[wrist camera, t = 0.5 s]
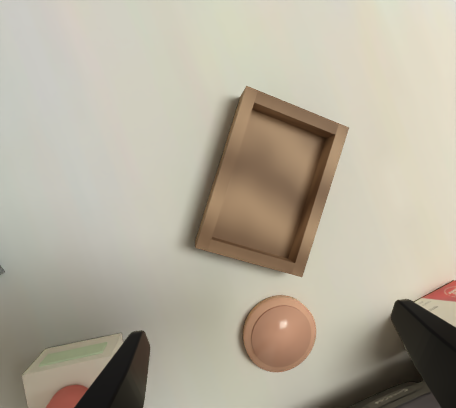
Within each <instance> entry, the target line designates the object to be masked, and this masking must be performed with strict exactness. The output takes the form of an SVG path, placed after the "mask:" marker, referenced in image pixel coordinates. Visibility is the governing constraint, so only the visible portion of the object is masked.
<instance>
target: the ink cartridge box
mask: <svg viewBox="0 0 456 408" xmlns="http://www.w3.org/2000/svg"><path fill="white" fill-rule="evenodd" d="M415 303H416V304H418V305H420V306H421V307H423V308H425V309H426V310H428V311H430V312H431V313H433V314H435V315H436V316H438V317H440V318H441V319H443V320H445V321H446V322H448V323H450V324H451V325H453V326H455V327H456V281H452V282H451V283H449V284H447V285H445V286H443V287H441V288H440V289H438V290H436V291H434V292H432V293H430V294H428V295H426V296H424V297H422V298H420V299H419V300H417V301H415ZM403 345H404V344H403ZM404 347H405V346H404ZM405 350H406V348H405ZM406 351H407V350H406Z"/></svg>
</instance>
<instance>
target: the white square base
mask: <svg viewBox="0 0 456 408" xmlns="http://www.w3.org/2000/svg"><path fill="white" fill-rule="evenodd" d="M122 344H123V339H122V333H119V334H114V335H109V336H104V337H100V338H95V339H90V340H85V341H80V342H76V343H71V344H66V345H61V346H56V347H52V348H47V349H45V350H44V351H43V352H42V353H41V355H40V356H39V357H38V358H37V359H36V360H35V361H34V362H33V363H32V365H31V366H30V367H29V368H28V369H27V370H26V371H25V372H24V373H23V375H22V380H23V385H24V390H25V395H26V400H27V405H28V408H46V406H47V405H48V403H49V402H50V400H51V399H52V397H53V396H54V395H55V393H57V392H58V391H59V390H60V389H62V388H64V387H66V386H70V385H81V386H85V387H87V388H89V387H90V386H91V384H92V383H93V382H94V381H95V379H96V378H97V377H98V375H99V374H100V373H101V371H102V370H103V369H104V367H105V366H106V365H107V364H108V362H109V361H110V360H111V358H112V357H113V356H114V354H115V353H116V352H117V350H118V349H119V348H120V346H121V345H122Z"/></svg>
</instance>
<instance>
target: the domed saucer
mask: <svg viewBox="0 0 456 408" xmlns="http://www.w3.org/2000/svg"><path fill="white" fill-rule="evenodd" d="M315 338H316V325H315V321H314V318H313V316H312V314H311V313H310V311H309V310H308V309H307V308H306V307H305V306H304V305H303V304H302V303H301V302H300V301H298V300H297V299H295V298H293V297H289V296H284V295H278V296H272V297H269V298H267V299H265V300H263V301H261V302H260V303H258V304H257V305H256V306H255V307H254V308H253V309H252V310H251V312H250V313H249V315H248V316H247V318H246V321H245V324H244V328H243V341H244V345H245V348H246V351H247V353H248V355H249V357H250V359H251V360H252V361H253V362H254V363H255V364H256V365H257V366H258V367H260V368H262V369H264V370H266V371H270V372H283V371H287V370H290V369H292V368H294V367H296V366H298V365H299V364H300V363H301V362H303V361H304V360H305V359H306V357H307V356H308V355H309V353H310V352H311V350H312V348H313V345H314V342H315Z"/></svg>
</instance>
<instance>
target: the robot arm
mask: <svg viewBox="0 0 456 408" xmlns="http://www.w3.org/2000/svg"><path fill="white" fill-rule="evenodd" d="M391 320H392V322H393V325H394V326H395V328H396V330H397V332H398V334H399V336H400V338H401V340H402V342H403V344H404V346H405V348H406V350H407V352H408V354H409V355H410V357H411V359H412V361H413V363H414V365H415V367H416V368H417V370H418V372H419V373H420V375H421V377H422V378H423V380H424V381H425V383H426V384H427V386H428V388H429V389H430V391H431V392H432V394H433V396H434V397H435V399H436V400H437V402H438V403H439V405H440V407H441V408H456V327H455V326H453V325H451V324H450V323H448V322H446V321H445V320H443V319H441V318H440V317H438V316H436V315H435V314H433V313H431V312H430V311H428V310H426V309H425V308H423V307H421V306H420V305H418V304H416V303H415V302H413V301H411V300H409V299H403V300H397V301H396V302H395V304H394V307H393V310H392V314H391ZM149 356H150V344H149V342H148V339H147V336H146V334H145V332H144V331H134V332H132V333H131V334H130V335H129V336H128V337H127V339H126V340H125V341H124V343H123V344H122V345H121V346H120V348H119V349H118V350H117V352H116V353H115V354H114V356H113V357H112V358H111V360H110V361H109V362H108V364H107V365H106V366H105V367H104V369H103V370H102V371H101V373H100V374H99V375H98V377H97V378H96V379H95V381H94V382H93V383H92V384H91V386H90V387H89V388H88V390H87V391H86V392H85V394H84V395H83V396H82V398H81V399H80V400H79V402H78V403H77V404H76V405H75V407H74V408H143V405H144V399H145V392H146V383H147V374H148V365H149Z"/></svg>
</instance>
